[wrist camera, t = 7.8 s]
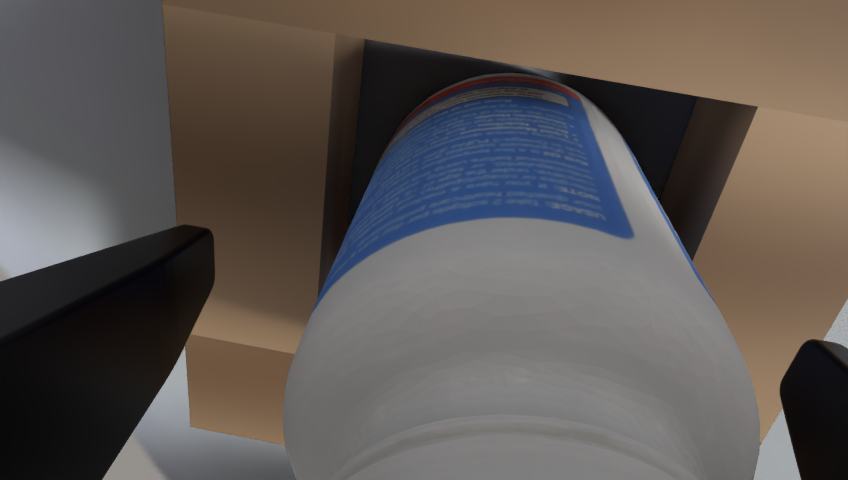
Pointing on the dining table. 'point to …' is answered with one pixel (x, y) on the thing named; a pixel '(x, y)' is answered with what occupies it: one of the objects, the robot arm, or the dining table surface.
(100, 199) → the dining table surface
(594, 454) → the pill bottle
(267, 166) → the socket block
